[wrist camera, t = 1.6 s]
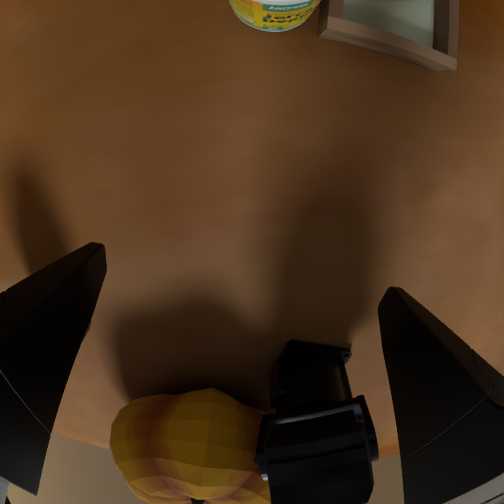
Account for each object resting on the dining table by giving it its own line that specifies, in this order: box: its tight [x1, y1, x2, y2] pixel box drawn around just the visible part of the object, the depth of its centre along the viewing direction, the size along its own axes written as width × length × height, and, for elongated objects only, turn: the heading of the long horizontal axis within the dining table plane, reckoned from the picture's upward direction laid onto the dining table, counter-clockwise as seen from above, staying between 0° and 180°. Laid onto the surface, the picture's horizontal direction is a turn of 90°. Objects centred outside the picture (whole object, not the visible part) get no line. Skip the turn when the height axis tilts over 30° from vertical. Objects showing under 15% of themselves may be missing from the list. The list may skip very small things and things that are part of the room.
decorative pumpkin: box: [110, 388, 271, 504], centre depth 27 cm, size 20×22×15 cm
